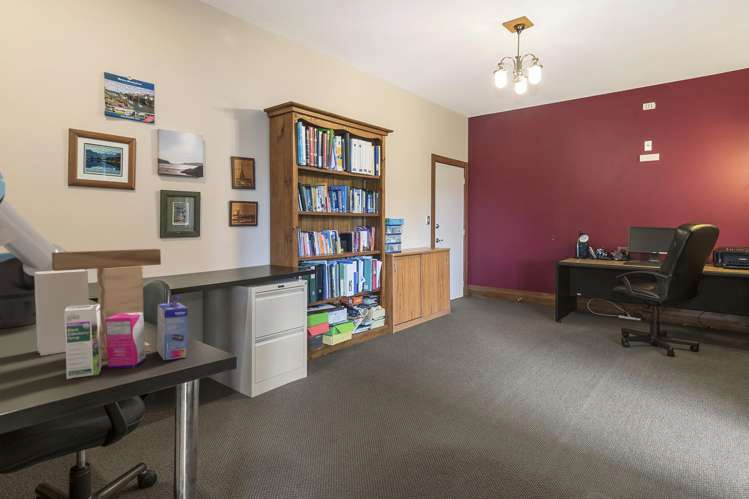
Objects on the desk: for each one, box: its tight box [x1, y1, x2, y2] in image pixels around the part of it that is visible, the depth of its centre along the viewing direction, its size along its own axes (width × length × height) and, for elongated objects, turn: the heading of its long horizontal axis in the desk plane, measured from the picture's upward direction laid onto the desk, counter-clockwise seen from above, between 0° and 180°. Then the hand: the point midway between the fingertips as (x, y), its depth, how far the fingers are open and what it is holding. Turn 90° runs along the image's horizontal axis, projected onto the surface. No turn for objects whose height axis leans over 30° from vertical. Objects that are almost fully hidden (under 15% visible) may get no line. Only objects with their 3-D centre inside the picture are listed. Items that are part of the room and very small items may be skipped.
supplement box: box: [105, 312, 147, 369], centre depth 93 cm, size 6×6×12 cm
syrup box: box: [64, 303, 103, 380], centre depth 87 cm, size 6×6×14 cm
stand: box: [96, 266, 151, 361], centre depth 103 cm, size 10×10×22 cm
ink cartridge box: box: [156, 294, 189, 361], centre depth 100 cm, size 10×6×14 cm, turn 37°
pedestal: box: [34, 269, 90, 357], centre depth 104 cm, size 6×10×20 cm, turn 136°
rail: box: [52, 248, 162, 271], centre depth 100 cm, size 4×22×4 cm, turn 136°
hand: (12, 231), depth 89 cm, fingers open, 13 cm apart
